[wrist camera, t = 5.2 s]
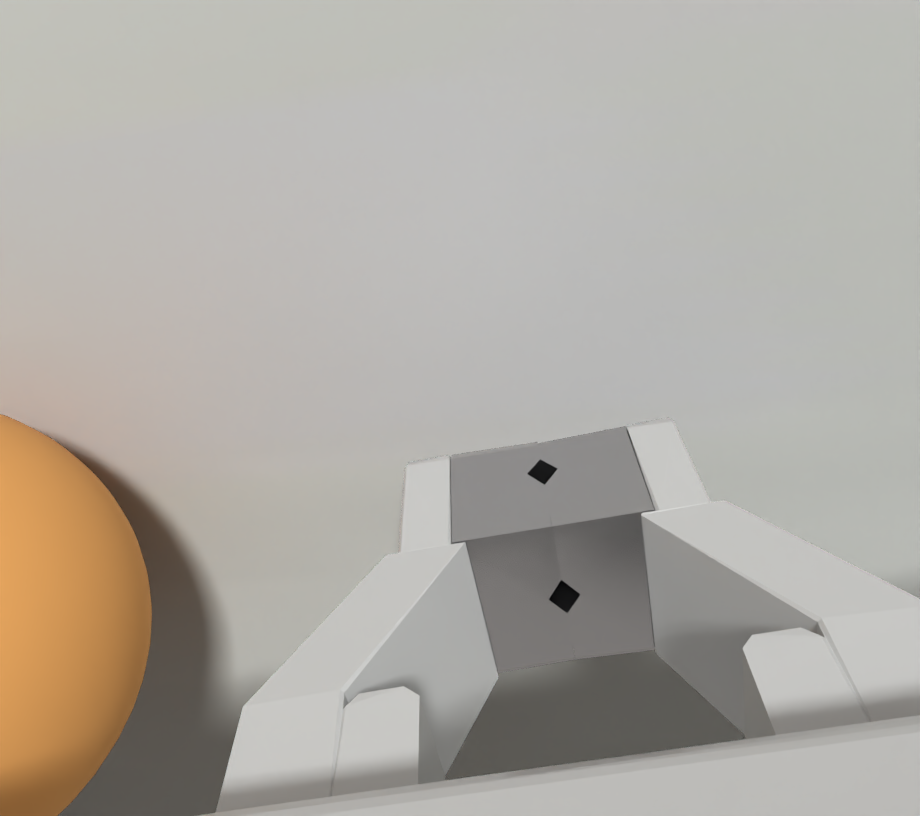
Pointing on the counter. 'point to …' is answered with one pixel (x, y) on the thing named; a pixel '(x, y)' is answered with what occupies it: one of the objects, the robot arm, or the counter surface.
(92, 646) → the ball
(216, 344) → the counter surface
